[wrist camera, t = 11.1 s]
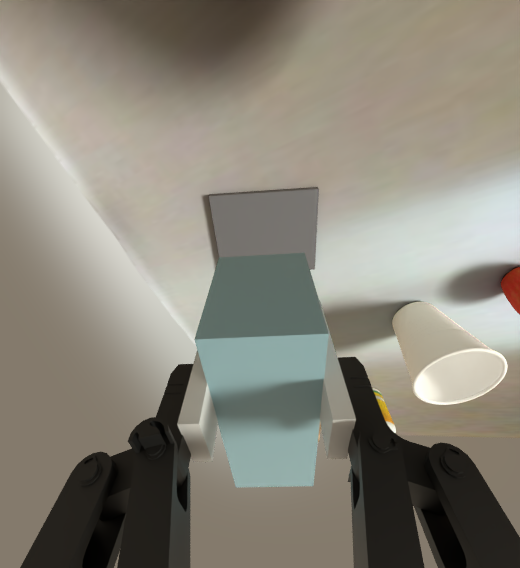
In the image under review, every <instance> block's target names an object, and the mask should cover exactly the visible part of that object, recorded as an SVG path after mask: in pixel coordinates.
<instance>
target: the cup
mask: <svg viewBox="0 0 520 568" xmlns="http://www.w3.org/2000/svg"><path fill="white" fill-rule="evenodd" d="M392 324H393V328H394V331H395V334H396V336H397V339H398V342H399V345H400V348H401V351H402V354H403V357H404V360H405V363H406V366H407V369H408V372H409V375H410V378H411V381H412V389H413V392H414V394H415V395H416V396H417V397H418V398H419V399H420V400H422V401H424V402H427V403H431V404H438V405H449V404H457V403H461V402H465V401H469V400H472V399H474V398H477V397H479V396H481V395H483V394H485V393H487V392H488V391H490V390H491V389H493V388H494V387H495V386H496V385H497V384H499V383H500V382H501V380H502V379H503V378H504V376H505V374H506V372H507V362H506V359H505V358H504V357H503V356H502V355H501V354H500V353H498V352H497V351H494V350H491V349H490V348H489V347H487V346H486V345H485V344H483V343H482V342H481V341H479V340H478V339H477V338H476V337H474V336H473V335H471V334H470V333H469V332H467V331H466V330H465V329H463V328H462V327H461V326H459V325H458V324H457V323H455V322H454V321H453V320H451V319H450V318H449V317H448V316H446V315H445V314H443V313H442V312H441V311H440V310H438V309H437V308H436V307H434V306H433V305H432V304H430V303H427V302H414V303H410V304H408V305H405V306H404V307H402V308H401V309H400V310H398V312H397V313H396V314H395V316H394V317H393V321H392Z"/></svg>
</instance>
